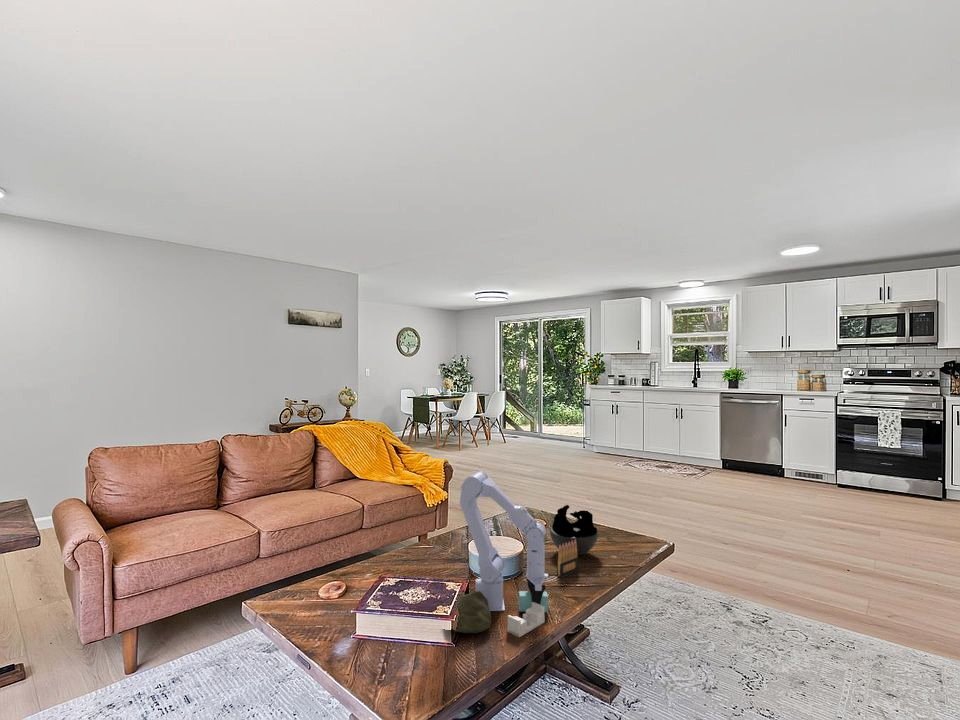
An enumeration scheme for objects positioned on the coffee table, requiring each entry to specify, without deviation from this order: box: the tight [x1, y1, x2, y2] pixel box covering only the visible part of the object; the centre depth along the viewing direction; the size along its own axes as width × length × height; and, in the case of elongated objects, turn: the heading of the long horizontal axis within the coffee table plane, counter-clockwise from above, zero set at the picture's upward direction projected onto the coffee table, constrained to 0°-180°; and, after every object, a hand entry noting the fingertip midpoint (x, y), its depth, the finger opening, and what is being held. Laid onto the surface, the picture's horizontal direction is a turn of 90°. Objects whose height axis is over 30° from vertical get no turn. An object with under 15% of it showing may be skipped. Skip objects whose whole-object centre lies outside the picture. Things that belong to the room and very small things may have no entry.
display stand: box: [506, 602, 546, 638], centre depth 159 cm, size 12×5×5 cm, turn 136°
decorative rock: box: [455, 591, 492, 634], centre depth 159 cm, size 15×16×10 cm
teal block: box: [518, 590, 549, 613], centre depth 168 cm, size 9×4×5 cm, turn 91°
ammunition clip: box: [556, 539, 579, 578], centre depth 198 cm, size 11×2×12 cm, turn 130°
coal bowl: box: [549, 504, 599, 557], centre depth 217 cm, size 20×20×19 cm
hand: (535, 603), depth 168 cm, fingers closed on teal block, 3 cm apart
